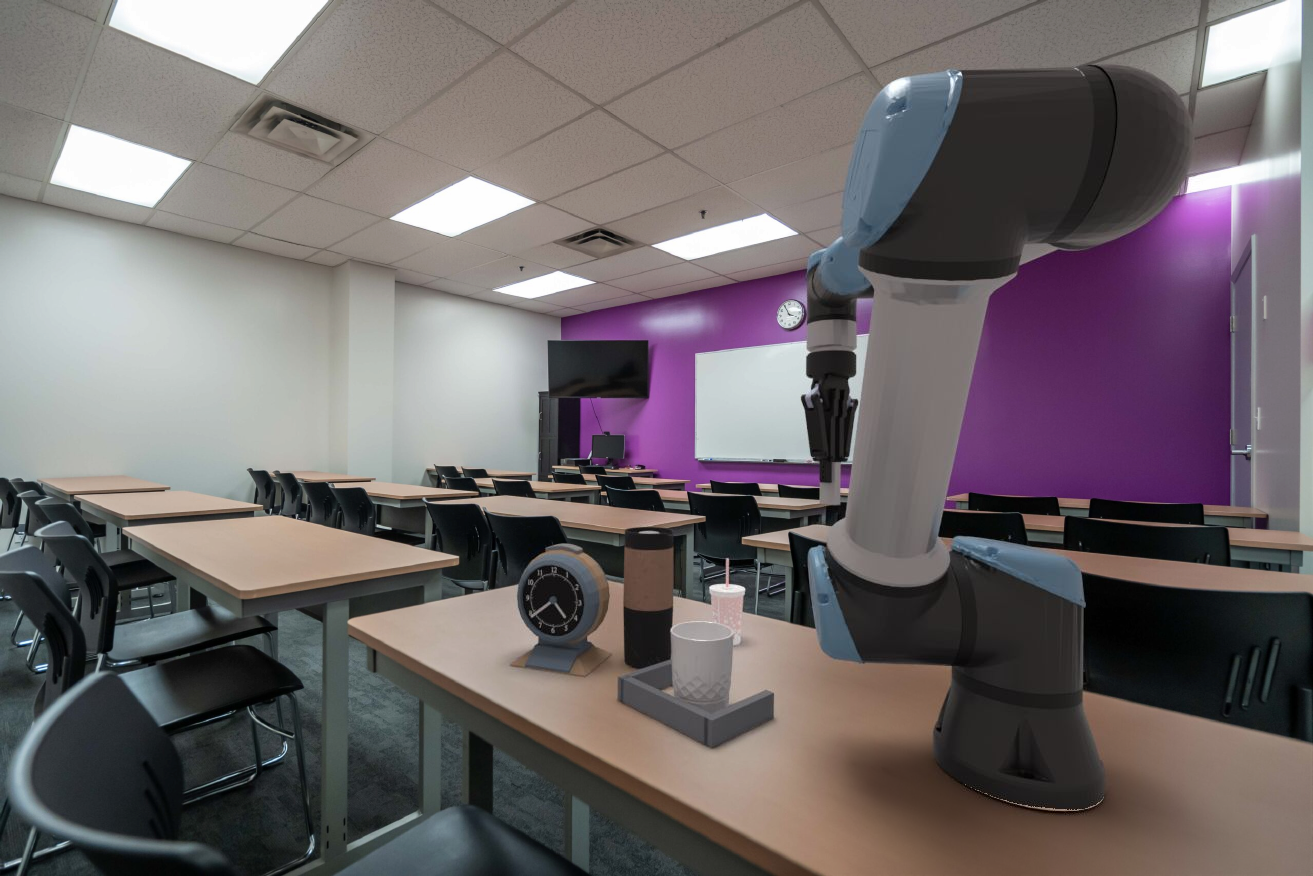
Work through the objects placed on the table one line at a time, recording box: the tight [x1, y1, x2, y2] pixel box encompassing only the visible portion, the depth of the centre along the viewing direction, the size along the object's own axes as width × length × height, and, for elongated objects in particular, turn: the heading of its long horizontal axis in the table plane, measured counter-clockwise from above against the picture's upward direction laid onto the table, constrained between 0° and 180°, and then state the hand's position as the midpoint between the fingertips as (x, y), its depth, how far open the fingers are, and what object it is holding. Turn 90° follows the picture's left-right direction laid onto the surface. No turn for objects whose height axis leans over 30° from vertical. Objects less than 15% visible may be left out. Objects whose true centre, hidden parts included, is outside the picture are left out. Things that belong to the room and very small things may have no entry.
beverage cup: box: [708, 557, 746, 646], centre depth 101 cm, size 6×6×14 cm
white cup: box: [670, 620, 734, 714], centre depth 74 cm, size 8×8×10 cm
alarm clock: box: [509, 543, 613, 678], centre depth 91 cm, size 14×10×18 cm
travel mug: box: [622, 526, 675, 670], centre depth 91 cm, size 8×8×20 cm
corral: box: [617, 659, 775, 749], centre depth 75 cm, size 11×16×3 cm
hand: (829, 504), depth 92 cm, fingers closed
